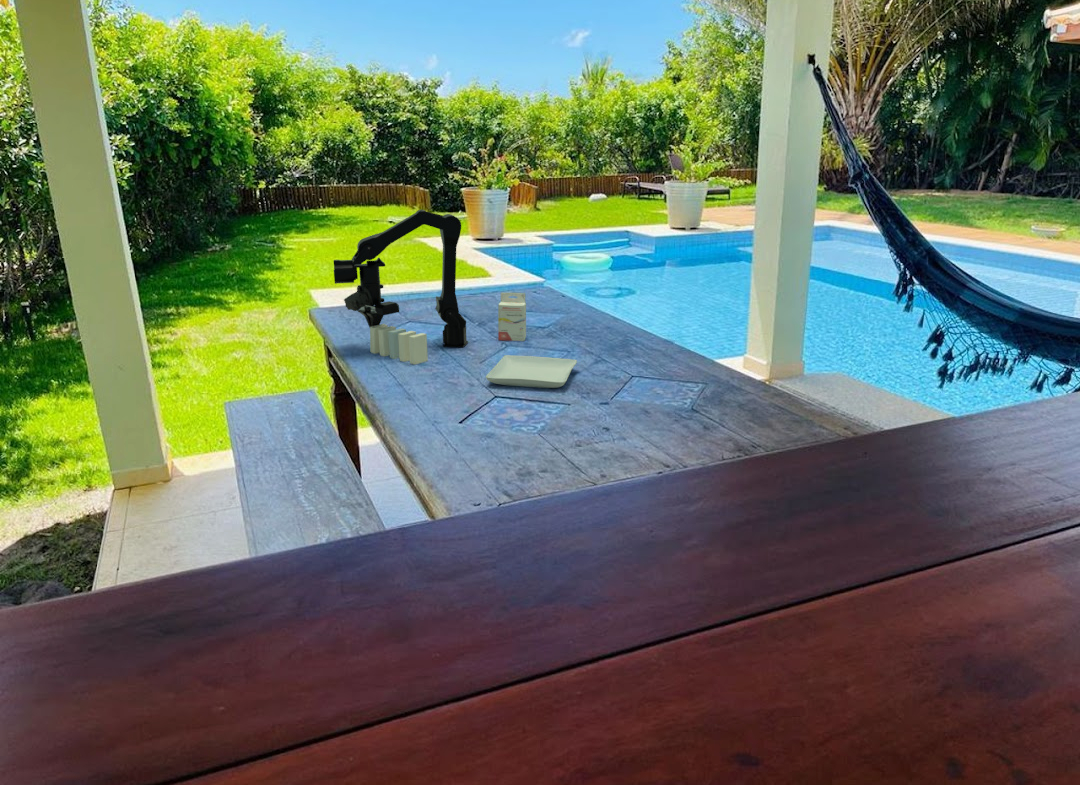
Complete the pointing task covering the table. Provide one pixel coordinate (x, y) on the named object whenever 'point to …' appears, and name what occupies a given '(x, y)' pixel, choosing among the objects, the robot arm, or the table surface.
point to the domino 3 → (394, 342)
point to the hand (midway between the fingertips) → (374, 333)
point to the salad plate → (531, 371)
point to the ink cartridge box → (512, 317)
